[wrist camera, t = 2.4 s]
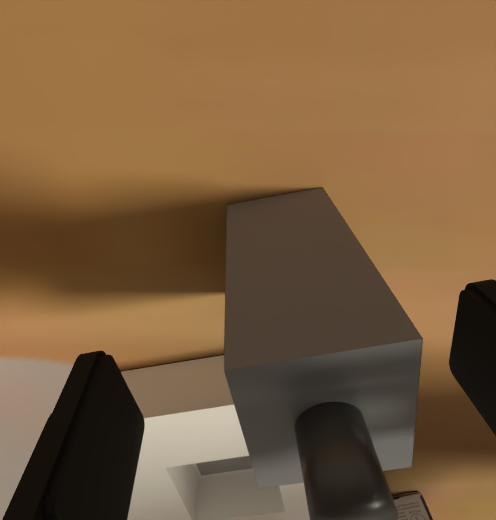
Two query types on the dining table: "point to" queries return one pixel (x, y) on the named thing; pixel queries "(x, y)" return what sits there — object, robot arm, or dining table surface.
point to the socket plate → (198, 451)
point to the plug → (317, 356)
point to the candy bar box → (411, 507)
